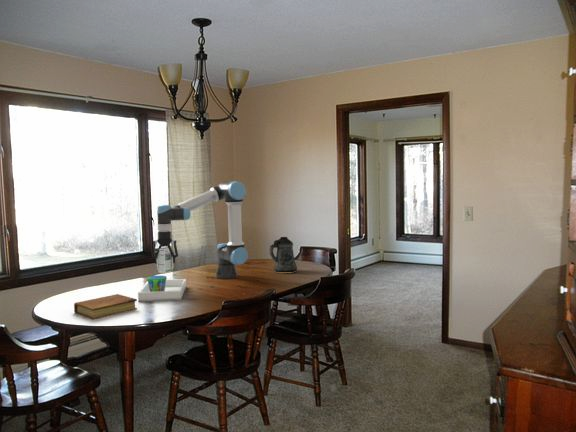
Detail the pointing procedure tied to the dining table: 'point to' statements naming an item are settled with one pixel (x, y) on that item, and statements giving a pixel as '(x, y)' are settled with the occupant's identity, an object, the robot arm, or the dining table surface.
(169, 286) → the tote
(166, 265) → the syrup box
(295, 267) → the beer stein
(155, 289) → the snack cup
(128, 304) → the diary
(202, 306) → the dining table surface
